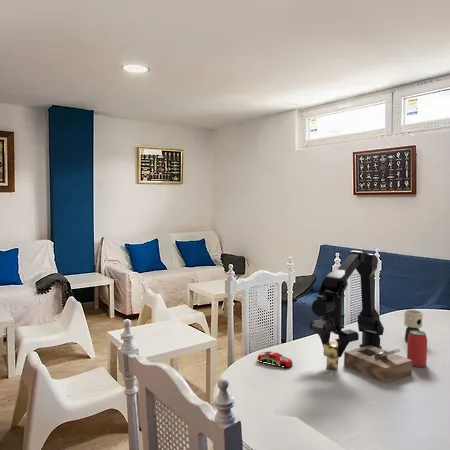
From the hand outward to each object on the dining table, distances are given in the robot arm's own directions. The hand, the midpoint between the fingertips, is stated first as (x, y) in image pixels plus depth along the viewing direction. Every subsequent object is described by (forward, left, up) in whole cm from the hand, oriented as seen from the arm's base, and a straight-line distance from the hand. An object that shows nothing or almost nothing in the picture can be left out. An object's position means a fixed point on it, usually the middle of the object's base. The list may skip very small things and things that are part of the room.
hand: (332, 353), depth 154 cm
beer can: (+13, +30, -6) cm, 33 cm away
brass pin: (0, 0, -5) cm, 5 cm away
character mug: (-4, +52, -5) cm, 52 cm away
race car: (-14, -15, -6) cm, 21 cm away
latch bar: (+14, +13, +2) cm, 19 cm away
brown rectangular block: (+9, +13, -5) cm, 17 cm away
